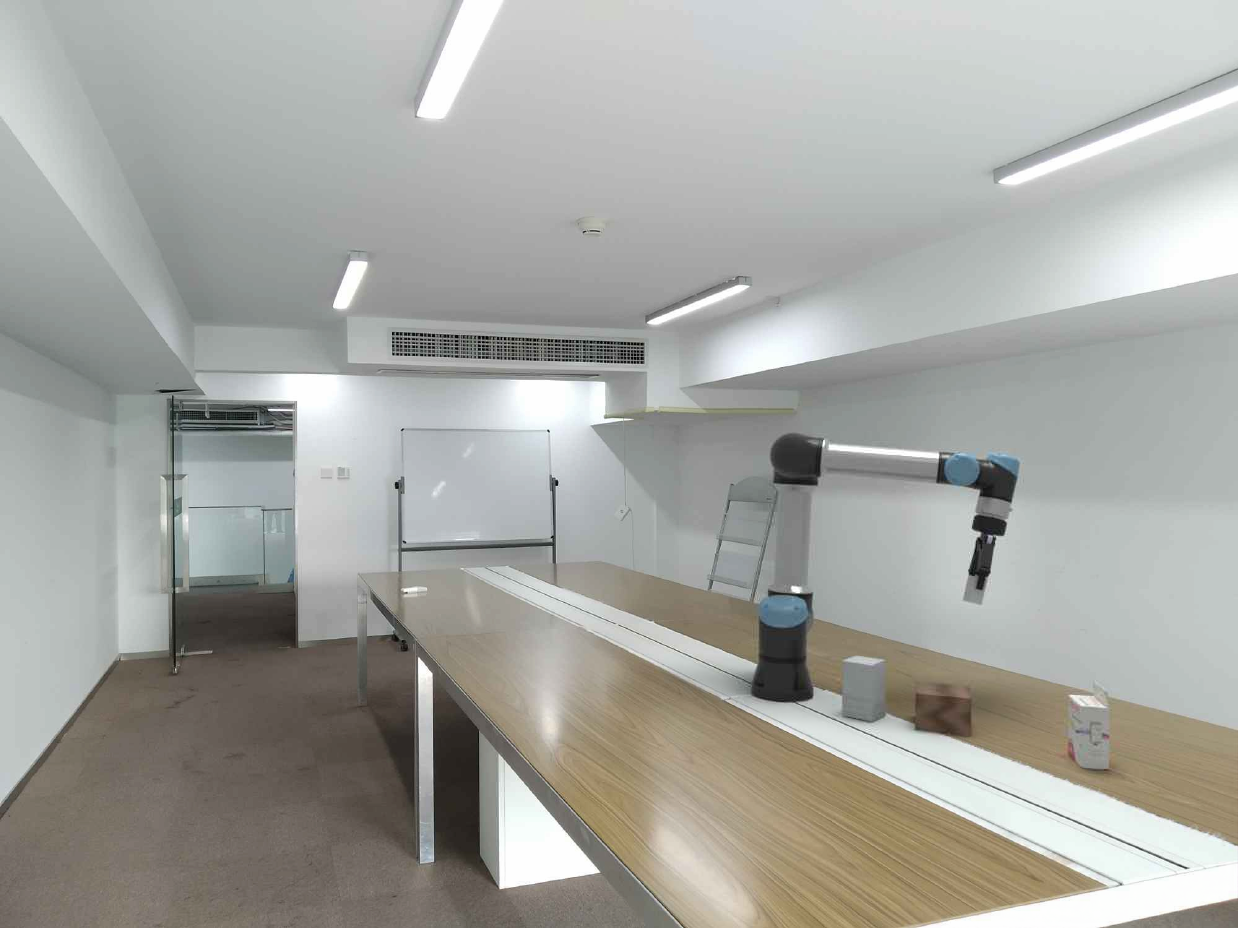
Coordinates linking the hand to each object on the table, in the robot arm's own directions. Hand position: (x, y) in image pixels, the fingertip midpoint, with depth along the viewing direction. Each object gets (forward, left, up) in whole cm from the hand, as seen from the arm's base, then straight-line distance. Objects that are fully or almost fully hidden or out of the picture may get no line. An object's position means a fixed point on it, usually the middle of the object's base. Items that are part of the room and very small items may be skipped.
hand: (971, 602), depth 204 cm
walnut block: (-7, -24, -24) cm, 35 cm away
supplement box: (-24, -23, -24) cm, 41 cm away
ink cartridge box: (+18, -39, -24) cm, 49 cm away
